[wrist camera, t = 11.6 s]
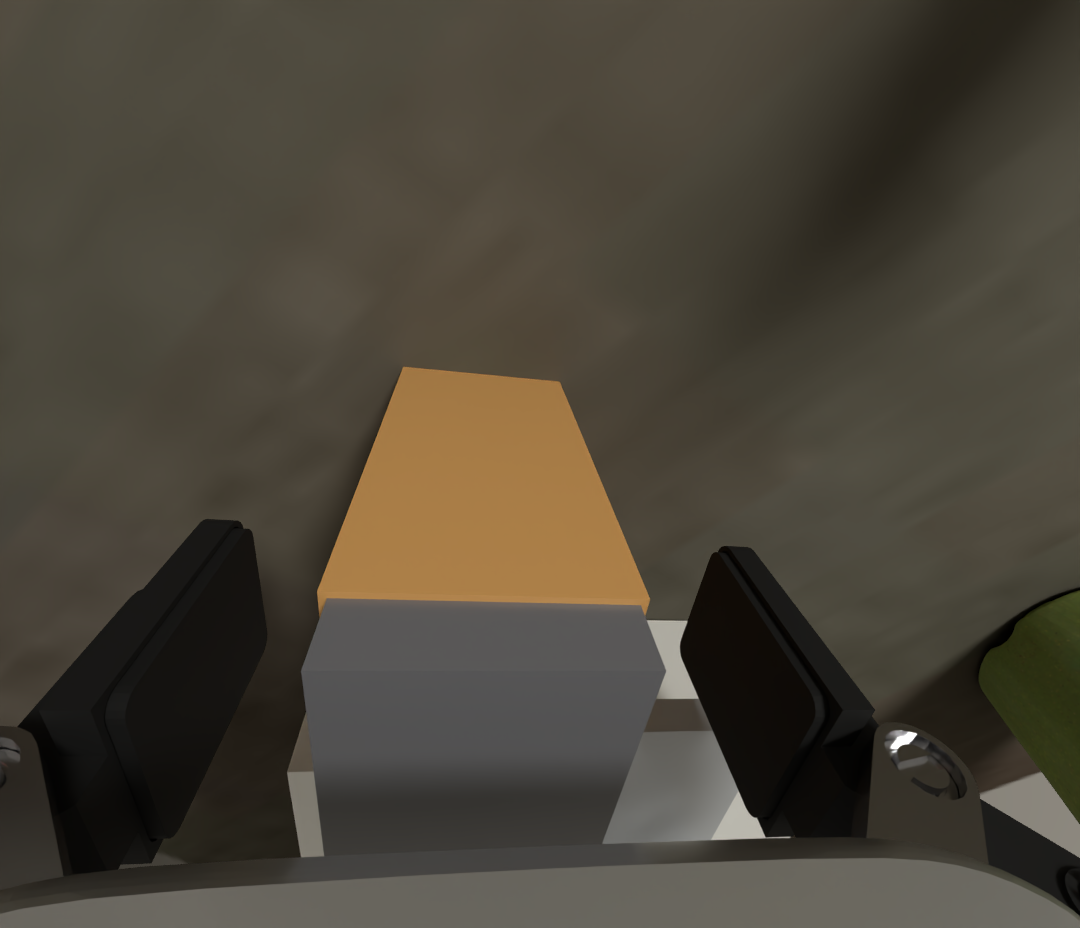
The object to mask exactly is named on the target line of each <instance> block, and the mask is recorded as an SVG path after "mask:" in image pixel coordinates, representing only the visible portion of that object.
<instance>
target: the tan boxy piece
mask: <svg viewBox="0 0 1080 928" xmlns="http://www.w3.org/2000/svg"><path fill="white" fill-rule="evenodd" d="M317 595H318V606H319V617H320V619H319V622H318V625H317V627H316V630H315V633H314V636H313V639H312V642H311V644H310V647H309V650H308V653H307V656H306V658H305V661H304V664H303V667H302V670H301V674H302V682H303V690H304V698H305V706H306V714H307V722H308V730H309V738H310V746H311V754H312V763H313V771H314V779H315V787H316V795H317V803H318V811H319V819H320V827H321V835H322V843H323V851H324V856H340V855H361V854H382V853H404V852H425V851H448V850H471V849H495V848H519V847H543V846H567V845H592V844H602V842H603V840H604V837H605V834H606V832H607V829H608V826H609V824H610V821H611V818H612V816H613V813H614V810H615V807H616V805H617V802H618V799H619V797H620V794H621V791H622V789H623V786H624V783H625V781H626V778H627V775H628V773H629V770H630V767H631V765H632V762H633V759H634V757H635V754H636V751H637V749H638V746H639V743H640V740H641V738H642V735H643V732H644V730H645V727H646V724H647V722H648V719H649V716H650V714H651V711H652V708H653V706H654V703H655V700H656V698H657V695H658V692H659V690H660V687H661V684H662V681H663V679H664V676H665V673H666V669H665V666H664V664H663V661H662V658H661V656H660V653H659V651H658V648H657V646H656V643H655V640H654V638H653V635H652V633H651V630H650V628H649V625H648V622H647V620H646V617H645V614H646V611H647V608H648V605H649V602H650V598H649V596H648V593H647V591H646V588H645V586H644V584H643V581H642V579H641V576H640V574H639V572H638V569H637V567H636V564H635V562H634V560H633V557H632V555H631V552H630V550H629V547H628V545H627V543H626V540H625V538H624V535H623V533H622V531H621V528H620V526H619V523H618V521H617V519H616V516H615V514H614V511H613V509H612V507H611V504H610V502H609V499H608V497H607V495H606V492H605V490H604V487H603V485H602V483H601V480H600V478H599V475H598V473H597V471H596V468H595V466H594V463H593V461H592V459H591V456H590V454H589V451H588V449H587V447H586V444H585V442H584V439H583V437H582V434H581V432H580V430H579V427H578V425H577V422H576V420H575V418H574V415H573V413H572V410H571V408H570V406H569V403H568V401H567V398H566V396H565V394H564V391H563V389H562V386H561V384H560V382H557V381H547V380H536V379H526V378H515V377H505V376H494V375H484V374H473V373H463V372H452V371H442V370H431V369H420V368H410V367H403V369H402V372H401V374H400V377H399V379H398V382H397V385H396V387H395V390H394V392H393V395H392V398H391V400H390V403H389V405H388V408H387V411H386V413H385V416H384V418H383V421H382V424H381V426H380V429H379V431H378V434H377V437H376V439H375V442H374V444H373V447H372V450H371V452H370V455H369V458H368V460H367V463H366V465H365V468H364V471H363V473H362V476H361V478H360V481H359V484H358V486H357V489H356V491H355V494H354V497H353V499H352V502H351V504H350V507H349V510H348V512H347V515H346V517H345V520H344V523H343V525H342V528H341V530H340V533H339V536H338V538H337V541H336V543H335V546H334V549H333V551H332V554H331V557H330V559H329V562H328V564H327V567H326V570H325V572H324V575H323V577H322V580H321V583H320V585H319V588H318V590H317Z"/></svg>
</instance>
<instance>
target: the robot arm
mask: <svg viewBox="0 0 1080 928" xmlns="http://www.w3.org/2000/svg"><path fill="white" fill-rule="evenodd" d="M266 641H267V628H266V621H265V614H264V607H263V601H262V594H261V587H260V580H259V573H258V567H257V560H256V553H255V546H254V540H253V534H252V531H251V530H250V529H243V525H242V524H241V522H239V521H233V520H214V519H206V520H203V521H202V522H201V523H200V524H199V525H198V526H197V527H196V528H195V529H194V531H193V532H192V533H191V534H190V535H189V536H188V538H187V539H186V540H185V541H184V542H183V543H182V545H181V546H180V547H179V548H178V549H177V550H176V552H175V553H174V554H173V555H172V556H171V557H170V558H169V560H168V561H167V562H166V563H165V564H164V565H163V567H162V568H161V569H160V570H159V571H158V572H157V574H156V575H155V576H154V577H153V578H152V579H151V581H150V582H149V583H148V584H147V585H146V586H145V588H144V589H142V590H140V591H137V592H136V593H135V594H134V595H133V596H132V597H131V598H130V599H129V600H128V601H127V602H126V603H125V604H124V605H123V607H122V608H121V609H120V610H119V611H118V612H117V613H116V615H115V616H114V617H113V618H112V619H111V620H110V621H109V623H108V624H107V625H106V626H105V627H104V628H103V629H102V631H101V632H100V633H99V634H98V635H97V636H96V637H95V639H94V640H93V641H92V642H91V643H90V644H89V645H88V647H87V648H86V649H85V650H84V651H83V652H82V653H81V655H80V656H79V657H78V658H77V659H76V660H75V661H74V663H73V664H72V665H71V666H70V667H69V668H68V670H67V671H66V672H65V673H64V674H63V675H62V676H61V678H60V679H59V680H58V681H57V682H56V683H55V684H54V686H53V687H52V688H51V689H50V690H49V691H48V692H47V694H46V695H45V696H44V697H43V698H42V699H41V700H40V702H39V703H38V704H37V705H36V706H35V707H34V708H33V710H32V711H31V712H30V713H29V714H28V715H27V716H26V718H25V719H24V720H23V721H22V722H21V723H20V724H19V726H18V727H11V726H0V928H1080V858H1079V857H1077V856H1075V855H1074V854H1072V853H1070V852H1068V851H1067V850H1065V849H1064V848H1062V847H1060V846H1059V845H1057V844H1055V843H1053V842H1052V841H1050V840H1049V839H1047V838H1045V837H1043V836H1042V835H1040V834H1038V833H1037V832H1035V831H1033V830H1032V829H1030V828H1028V827H1027V826H1025V825H1023V824H1022V823H1020V822H1018V821H1016V820H1015V819H1013V818H1011V817H1010V816H1008V815H1006V814H1005V813H1003V812H1001V811H1000V810H998V809H996V808H995V807H993V806H991V805H990V804H988V803H986V802H984V801H983V800H981V799H980V794H979V790H978V787H977V784H976V781H975V779H974V777H973V775H972V774H971V772H970V771H969V769H968V768H967V766H966V765H965V764H964V763H963V762H962V760H961V759H960V758H959V757H958V756H957V755H956V754H955V753H954V752H953V751H952V750H951V749H949V748H948V747H947V746H946V745H944V744H943V743H942V742H941V741H940V740H938V739H936V738H935V737H933V736H931V735H930V734H928V733H926V732H925V731H923V730H921V729H918V728H916V727H913V726H911V725H908V724H903V723H898V722H889V723H884V724H882V725H881V726H879V725H878V724H877V723H876V721H875V720H874V719H873V717H872V714H873V713H874V711H875V709H874V708H873V707H872V705H871V704H870V703H869V701H868V700H867V699H866V697H865V696H864V695H863V693H862V692H861V691H860V690H859V688H858V687H857V686H856V684H855V683H854V682H853V680H852V679H851V678H850V676H849V675H848V674H847V673H846V671H845V670H844V669H843V667H842V666H841V665H840V663H839V662H838V661H837V659H836V658H835V657H834V655H833V654H832V653H831V652H830V650H829V649H828V648H827V646H826V645H825V644H824V642H823V641H822V640H821V638H820V637H819V636H818V635H817V633H816V632H815V631H814V629H813V628H812V627H811V625H810V624H809V623H808V621H807V620H806V619H805V617H804V616H803V615H802V614H801V612H800V611H799V610H798V608H797V607H796V606H795V604H794V603H793V602H792V600H791V599H790V598H789V597H788V595H787V594H786V593H785V591H784V590H783V589H782V587H781V586H780V585H779V583H778V582H777V581H776V579H775V578H774V577H773V576H772V574H771V573H770V572H769V570H768V569H767V568H766V566H765V565H764V564H763V562H762V561H761V560H760V559H759V557H758V556H757V555H756V553H755V552H754V551H753V550H752V549H751V548H748V547H734V546H723V547H721V548H720V549H719V551H718V552H715V553H713V554H712V555H711V557H710V560H709V563H708V565H707V568H706V571H705V574H704V577H703V579H702V582H701V585H700V588H699V591H698V593H697V596H696V599H695V602H694V605H693V607H692V610H691V613H690V616H689V619H688V621H687V624H686V627H685V630H684V633H683V635H682V638H681V641H680V654H681V658H682V661H683V663H684V665H685V668H686V670H687V672H688V675H689V677H690V679H691V682H692V684H693V686H694V689H695V691H696V693H697V696H698V698H699V700H700V703H701V705H702V707H703V710H704V712H705V714H706V717H707V719H708V721H709V723H710V726H711V728H712V730H713V733H714V735H715V737H716V740H717V742H718V744H719V747H720V749H721V751H722V754H723V756H724V758H725V761H726V763H727V765H728V768H729V770H730V772H731V775H732V777H733V779H734V782H735V784H736V786H737V789H738V791H739V793H740V796H741V798H742V800H743V802H744V805H745V807H746V809H747V811H748V812H749V814H750V815H751V816H752V817H754V818H757V819H758V821H759V824H760V826H761V828H762V831H763V833H764V835H765V837H766V838H757V839H728V840H700V841H672V842H644V843H617V844H592V845H567V846H543V847H519V848H495V849H471V850H448V851H425V852H404V853H382V854H361V855H340V856H319V857H297V858H276V859H257V860H241V861H226V862H210V863H195V864H180V865H164V866H149V867H137V868H128V869H119V870H118V868H119V866H120V864H143V863H152V861H153V859H154V857H155V855H156V853H157V851H158V849H159V847H160V845H161V843H162V840H163V838H172V837H173V836H174V835H175V834H176V832H177V831H178V829H179V828H180V826H181V824H182V822H183V820H184V818H185V815H186V813H187V811H188V809H189V807H190V805H191V803H192V801H193V799H194V797H195V794H196V792H197V790H198V788H199V786H200V784H201V782H202V780H203V778H204V776H205V774H206V771H207V769H208V767H209V765H210V763H211V761H212V759H213V757H214V755H215V753H216V751H217V748H218V746H219V744H220V742H221V740H222V738H223V736H224V734H225V732H226V730H227V728H228V725H229V723H230V721H231V719H232V717H233V715H234V713H235V711H236V709H237V707H238V704H239V702H240V700H241V698H242V696H243V694H244V692H245V690H246V688H247V686H248V684H249V681H250V679H251V677H252V675H253V673H254V671H255V669H256V667H257V665H258V663H259V661H260V658H261V656H262V654H263V652H264V649H265V646H266ZM794 835H795V837H796V838H769V837H793V836H794Z"/></svg>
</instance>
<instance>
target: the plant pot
mask: <svg viewBox="0 0 1080 928" xmlns="http://www.w3.org/2000/svg"><path fill="white" fill-rule="evenodd" d="M979 684H980V687H981V690H982V691H983V693H984V694H985V695H986V697H987V698H988V700H989V701H990V702H991V704H992V705H993V707H994V708H995V709H996V711H997V712H998V714H999V715H1000V716H1001V718H1002V719H1003V720H1004V722H1005V723H1006V725H1007V726H1008V727H1009V729H1010V730H1011V731H1012V733H1013V734H1014V735H1015V737H1016V738H1017V739H1018V741H1019V742H1020V744H1021V745H1022V746H1023V748H1024V749H1025V750H1026V752H1027V753H1028V754H1029V756H1030V757H1031V758H1032V760H1033V761H1034V762H1035V764H1036V765H1037V766H1038V768H1039V769H1040V770H1041V772H1042V773H1043V774H1044V776H1045V777H1046V778H1047V780H1048V781H1049V782H1050V784H1051V785H1052V787H1053V788H1054V789H1055V791H1056V792H1057V794H1058V795H1059V796H1060V798H1061V799H1062V800H1063V802H1064V803H1065V805H1066V806H1067V807H1068V809H1069V810H1070V811H1071V813H1072V814H1073V815H1074V817H1075V818H1076V820H1077V821H1078V822H1079V824H1080V590H1079V591H1076V592H1073V593H1070V594H1068V595H1065V596H1062V597H1060V598H1058V599H1056V600H1053V601H1049V602H1047V603H1045V604H1043V605H1041V606H1039V607H1037V608H1036V609H1034V610H1032V611H1030V612H1029V613H1028V614H1027V615H1025V617H1024V618H1022V619H1021V620H1019V621H1018V622H1017V623H1016V625H1015V628H1014V631H1013V633H1012V635H1011V636H1010V638H1009V639H1008V640H1007V641H1006V642H1005V643H1003V644H1002V645H1000V646H998V647H995V648H992V649H990V650H989V652H988V653H987V654H986V655H985V657H984V659H983V662H982V664H981V667H980V671H979Z"/></svg>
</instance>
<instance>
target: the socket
mask: <svg viewBox="0 0 1080 928" xmlns="http://www.w3.org/2000/svg"><path fill="white" fill-rule="evenodd" d="M647 622H648V625H649V628H650V630H651V633H652V635H653V638H654V640H655V643H656V646H657V648H658V651H659V653H660V656H661V658H662V661H663V664H664V666H665V669H666V673H665V676H664V679H663V681H662V684H661V687H660V690H659V692H658V695H657V698H656V699H699V698H698V696H697V693H696V691H695V689H694V686H693V684H692V682H691V679H690V677H689V675H688V672H687V670H686V668H685V665H684V663H683V661H682V658H681V654H680V641H681V638H682V635H683V633H684V630H685V627H686V624H687V621H659V620H647ZM287 776H288V782H289V788H290V794H291V800H292V806H293V812H294V818H295V824H296V830H297V836H298V842H299V848H300V854H301V857H319V856H324V851H323V843H322V835H321V827H320V819H319V811H318V803H317V795H316V787H315V779H314V771H313V763H312V754H311V746H310V738H309V730H308V722H307V714H305V717H304V720H303V723H302V726H301V729H300V732H299V736H298V739H297V742H296V745H295V748H294V751H293V755H292V758H291V761H290V764H289V767H288V770H287ZM757 838H766V837H765V835H764V833H763V831H762V828H761V826H760V824H759V821H758V819H757V818H754V817H752V816H751V815H750V814H749V812H748V811H747V809H746V807H745V805H744V802H743V800H742V798H741V796H740V793H739V791H738V793H737V794H736V796H735V798H734V800H733V801H732V803H731V805H730V807H729V809H728V810H727V812H726V814H725V816H724V817H723V819H722V821H721V823H720V824H719V826H718V828H717V830H716V832H715V833H714V835H713V837H712V839H711V840H728V839H757ZM769 838H790V837H769Z"/></svg>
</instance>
